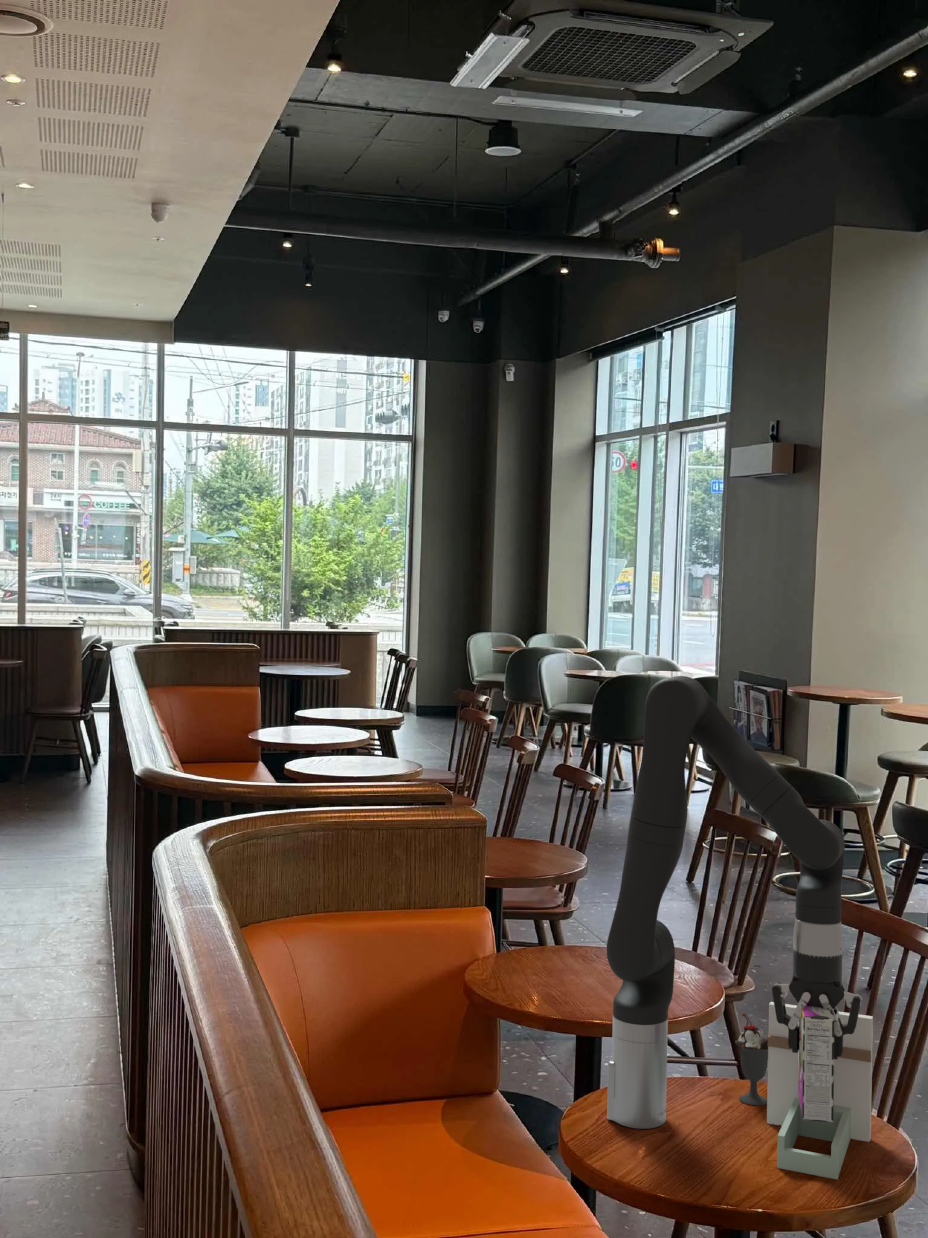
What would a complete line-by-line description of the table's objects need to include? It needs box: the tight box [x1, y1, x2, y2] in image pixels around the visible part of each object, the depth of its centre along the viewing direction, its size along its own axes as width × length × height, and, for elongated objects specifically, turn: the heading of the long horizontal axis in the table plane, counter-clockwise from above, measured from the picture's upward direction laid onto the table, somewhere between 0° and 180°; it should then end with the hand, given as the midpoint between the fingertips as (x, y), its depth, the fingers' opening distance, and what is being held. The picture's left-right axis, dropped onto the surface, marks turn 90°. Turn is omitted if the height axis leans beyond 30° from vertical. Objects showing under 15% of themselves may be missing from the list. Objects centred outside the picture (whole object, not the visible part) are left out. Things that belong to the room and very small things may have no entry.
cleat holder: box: [766, 1001, 874, 1181], centre depth 195 cm, size 16×18×20 cm
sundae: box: [734, 1013, 768, 1107], centre depth 215 cm, size 7×7×15 cm
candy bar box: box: [798, 1006, 834, 1123], centre depth 193 cm, size 11×5×16 cm, turn 168°
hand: (815, 1054), depth 193 cm, fingers closed on candy bar box, 5 cm apart
